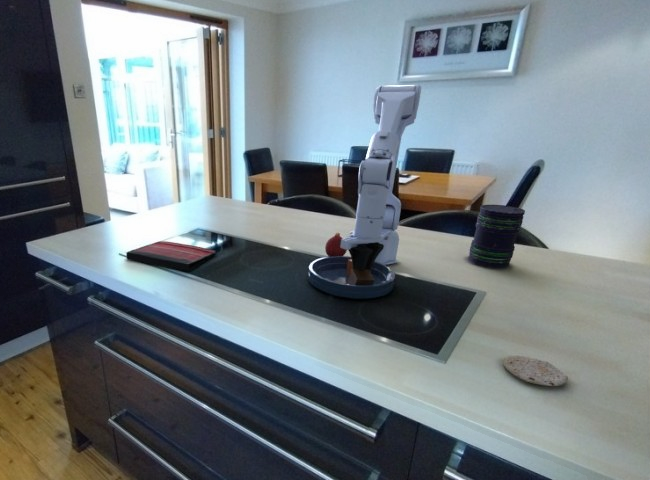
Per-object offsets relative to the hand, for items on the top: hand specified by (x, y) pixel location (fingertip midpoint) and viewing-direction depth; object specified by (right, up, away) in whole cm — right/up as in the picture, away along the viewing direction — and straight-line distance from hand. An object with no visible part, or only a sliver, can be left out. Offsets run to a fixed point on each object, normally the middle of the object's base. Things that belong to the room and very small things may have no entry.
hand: (361, 273), depth 89 cm
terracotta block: (+2, -1, +7) cm, 7 cm away
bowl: (-1, -2, +5) cm, 5 cm away
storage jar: (+41, +3, +17) cm, 44 cm away
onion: (-1, +4, +19) cm, 20 cm away
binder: (-46, +5, +22) cm, 52 cm away
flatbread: (+17, -16, -28) cm, 37 cm away
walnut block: (-1, -3, -1) cm, 4 cm away
